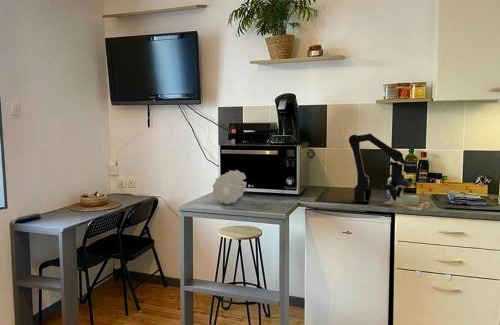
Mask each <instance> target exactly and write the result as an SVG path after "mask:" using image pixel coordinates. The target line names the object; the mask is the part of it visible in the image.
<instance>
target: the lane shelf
mask: <svg viewBox="0 0 500 325" xmlns="http://www.w3.org/2000/svg"><path fill="white" fill-rule="evenodd" d="M382 204H383V205H387V206H392V207H398V208H403V209H409V210H414V211H420V212H421V211H423V210H426V209H428V208H431V205H430V202H428V201H421V200H419V204H416V203H410V202H403V204H401V203H395V202H391V200H389V201H386V202H383V203H382Z"/></svg>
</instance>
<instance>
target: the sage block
mask: <svg viewBox="0 0 500 325" xmlns="http://www.w3.org/2000/svg"><path fill="white" fill-rule="evenodd" d="M390 201H391V202H395V203H401V204H403V202H410V203H416V204H419V201H420V195H415V194H410V193H409V194H408V193H406V194H402V197H397V196H396V201H394V200H393V198H392V196H391V198H390Z"/></svg>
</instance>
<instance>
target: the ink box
mask: <svg viewBox="0 0 500 325" xmlns="http://www.w3.org/2000/svg"><path fill="white" fill-rule="evenodd" d="M390 182H391V177H389V178H387V184H389V183H390ZM403 190H404V189H403ZM403 190H402V191H401V194H400V196H399V197H403ZM386 198H387V199H391V194H390V192H389V190H386Z"/></svg>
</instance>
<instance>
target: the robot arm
mask: <svg viewBox="0 0 500 325" xmlns="http://www.w3.org/2000/svg"><path fill="white" fill-rule="evenodd" d="M362 142H363V143H364V142H370V143H371V144H373V145H374V146H376V147H378V149H380V150H381V151H383V152H384V153H386V155H387V156H388V157H389V158H390V159H392V160H390V162H388V163H387V165H388V166H391V169H390V170H391V173H390V174H389V178H391V182H390V183H389V184H388V183H384V184H383V185H382V190H386V191H387V190H389V192H390V194H391V196H392V198H393V200H394V201H396V196H397V197H399V196H400V194H401V191H402V190H405V189H408V188H411V187H412V185H414V180H413V178H412V177H409V178H405V175H404V174H403V172H404V173H405V174H410V175H411V174H413V175H414V174H415V175H416V174H417V172H418V168H417V161H416V160H414V161H406V159H404V155H403V153H402V151H400V150H398V149H396V148H393V147H391V146H389V144H388V145H387V143H385V142H383V141H382V140H380V139H379V138H377V137H376V136H375V135H373V133H366V134H360V135H358V134H352V135H349V137H348V143H349V146H350V148H351V150H352V152H353V156H354V157H353V158H354V163H355V166H356V172H357V184H356V185H355V186H354V188H353V190H354V195H353V200H351V202H353V203H359V204H364V203H366V202H368V200H366V190H367V189H368V188H369V185H370V182H371V181H370V178H369V175H368V174H366V173H365V168H364V164H363V163H364V162H363V159H362V155H361V149H360V148H361V146H360V145H361V143H362Z"/></svg>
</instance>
